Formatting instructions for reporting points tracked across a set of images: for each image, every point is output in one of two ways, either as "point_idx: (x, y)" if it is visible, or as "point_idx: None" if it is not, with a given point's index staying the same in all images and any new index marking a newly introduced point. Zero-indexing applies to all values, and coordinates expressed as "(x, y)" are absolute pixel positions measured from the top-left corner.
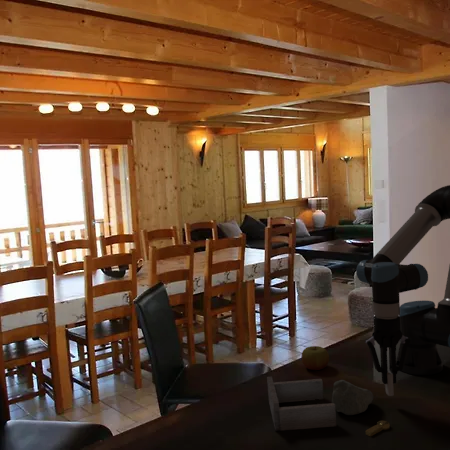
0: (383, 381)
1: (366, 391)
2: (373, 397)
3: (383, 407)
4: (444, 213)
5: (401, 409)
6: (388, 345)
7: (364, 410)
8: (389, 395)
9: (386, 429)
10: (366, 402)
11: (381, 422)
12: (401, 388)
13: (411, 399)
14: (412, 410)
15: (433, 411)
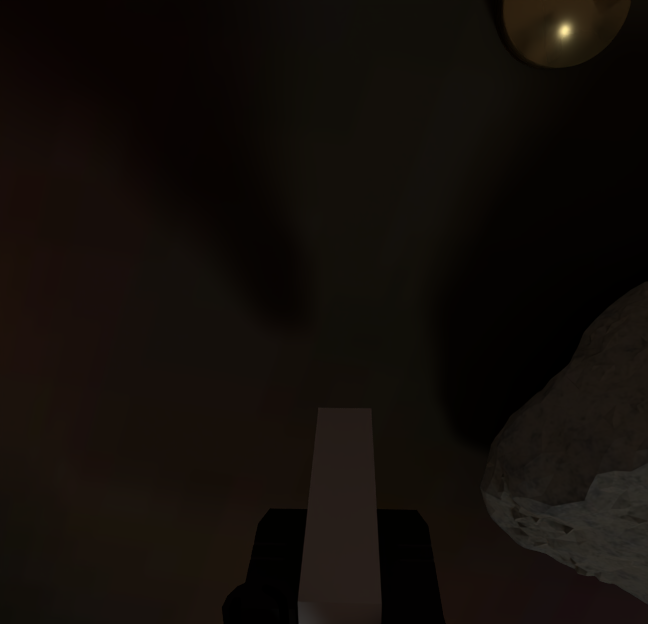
0: (429, 537)
1: (638, 446)
2: (503, 438)
3: (405, 375)
4: None
5: (272, 319)
6: None
7: (632, 291)
8: (362, 410)
9: None
10: (622, 347)
11: (578, 22)
12: (173, 620)
13: (146, 461)
14: (187, 287)
15: (18, 242)
